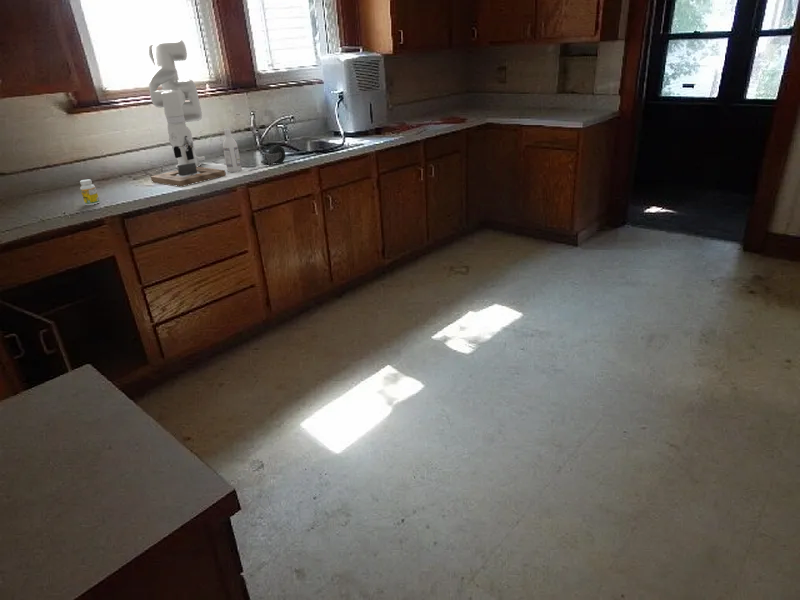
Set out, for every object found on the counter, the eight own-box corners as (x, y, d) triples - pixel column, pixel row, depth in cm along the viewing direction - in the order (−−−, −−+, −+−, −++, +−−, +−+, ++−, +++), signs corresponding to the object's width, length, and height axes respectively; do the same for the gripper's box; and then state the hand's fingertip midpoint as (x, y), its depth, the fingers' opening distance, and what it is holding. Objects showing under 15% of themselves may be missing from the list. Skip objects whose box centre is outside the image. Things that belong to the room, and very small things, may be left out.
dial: (173, 178, 252) (170, 164, 249) (196, 174, 258) (193, 161, 255) (180, 182, 244) (177, 167, 241) (204, 177, 250) (201, 163, 247)
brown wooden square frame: (196, 171, 266) (195, 166, 265) (225, 175, 253) (224, 169, 251) (152, 181, 249) (150, 175, 248) (180, 186, 236) (179, 180, 234)
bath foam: (240, 168, 266) (233, 127, 257) (243, 171, 260) (235, 128, 252) (226, 170, 263) (218, 128, 255) (228, 173, 258) (220, 130, 249)
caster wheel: (280, 163, 278) (258, 166, 267) (279, 144, 275) (256, 146, 264) (288, 164, 275) (265, 167, 264) (286, 145, 272) (264, 146, 260)
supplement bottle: (102, 203, 216) (95, 179, 212) (89, 206, 212) (81, 182, 208) (95, 201, 219) (88, 178, 215) (82, 204, 215) (75, 181, 211)
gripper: (157, 120, 242) (167, 158, 250) (179, 122, 232) (188, 161, 240) (172, 117, 247) (181, 155, 255) (194, 120, 238) (202, 158, 245)
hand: (184, 158), depth 248 cm, fingers open, 9 cm apart
